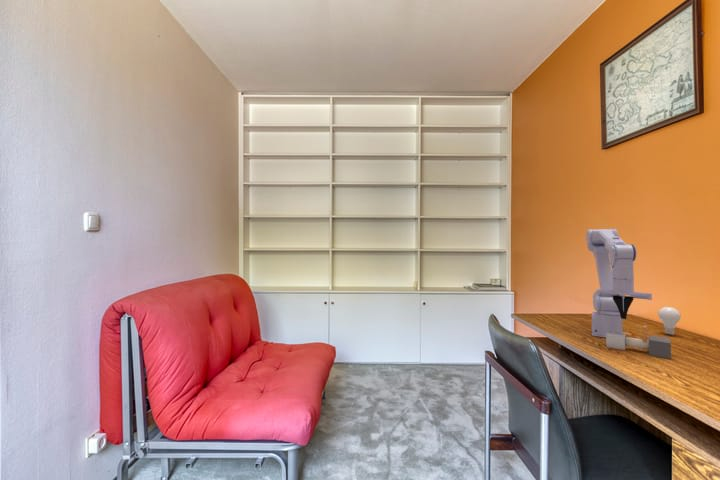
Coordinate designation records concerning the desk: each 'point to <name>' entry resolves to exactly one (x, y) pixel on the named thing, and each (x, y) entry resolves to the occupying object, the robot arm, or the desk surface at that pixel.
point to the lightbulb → (669, 318)
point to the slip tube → (638, 341)
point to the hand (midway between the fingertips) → (623, 318)
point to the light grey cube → (615, 339)
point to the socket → (659, 347)
